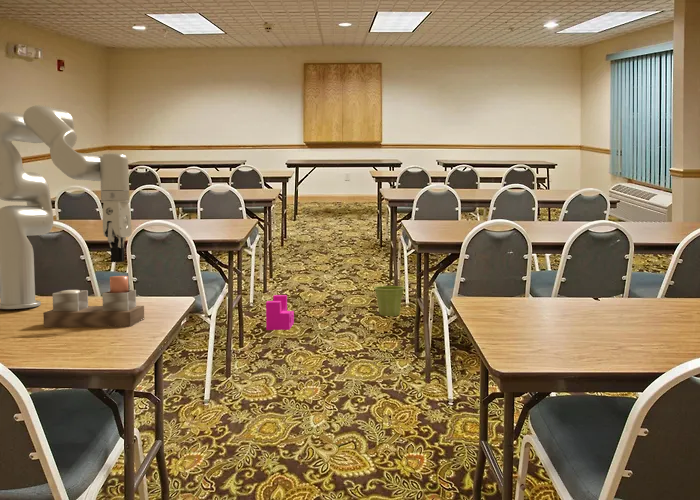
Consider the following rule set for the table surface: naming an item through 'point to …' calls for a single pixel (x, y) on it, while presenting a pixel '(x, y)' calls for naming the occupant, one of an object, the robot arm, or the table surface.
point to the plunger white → (70, 291)
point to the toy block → (278, 314)
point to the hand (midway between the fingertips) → (117, 261)
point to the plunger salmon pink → (119, 284)
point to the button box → (93, 310)
